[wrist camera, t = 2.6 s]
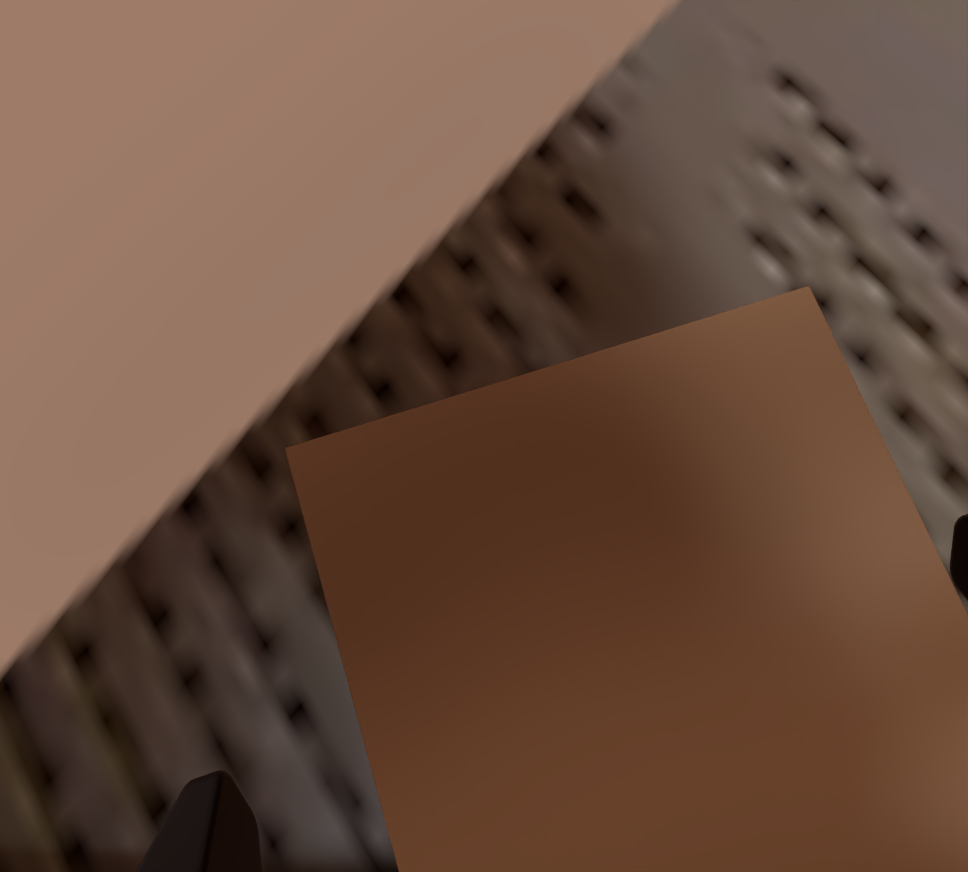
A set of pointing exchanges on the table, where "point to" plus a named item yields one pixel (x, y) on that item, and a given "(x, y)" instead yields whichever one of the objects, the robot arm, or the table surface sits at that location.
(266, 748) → the table surface
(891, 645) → the walnut block
